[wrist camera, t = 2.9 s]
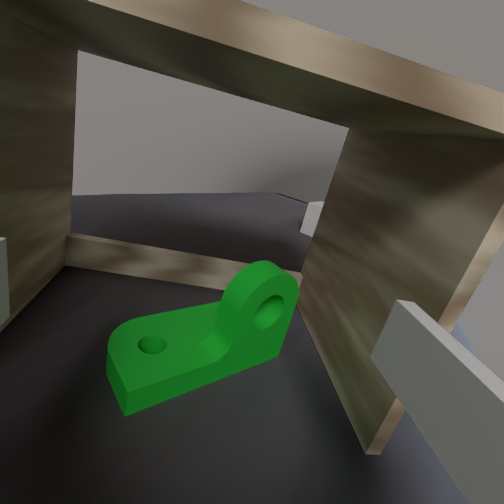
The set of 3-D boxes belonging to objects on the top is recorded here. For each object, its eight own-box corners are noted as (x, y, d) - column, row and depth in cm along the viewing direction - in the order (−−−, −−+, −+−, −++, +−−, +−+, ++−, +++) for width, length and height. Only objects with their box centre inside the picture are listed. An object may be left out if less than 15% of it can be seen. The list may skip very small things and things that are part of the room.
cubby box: (-123, 429, 14) (-284, -185, 7) (58, 259, 30) (63, 27, 23) (379, 455, 19) (574, 118, 12) (300, 297, 35) (363, 117, 28)
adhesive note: (312, 228, 66) (321, 201, 64) (338, 239, 63) (349, 211, 61) (299, 232, 61) (309, 202, 59) (327, 244, 58) (338, 213, 56)
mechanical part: (234, 315, 29) (255, 236, 26) (277, 358, 25) (307, 270, 22) (93, 349, 21) (102, 241, 18) (124, 419, 17) (141, 295, 14)
